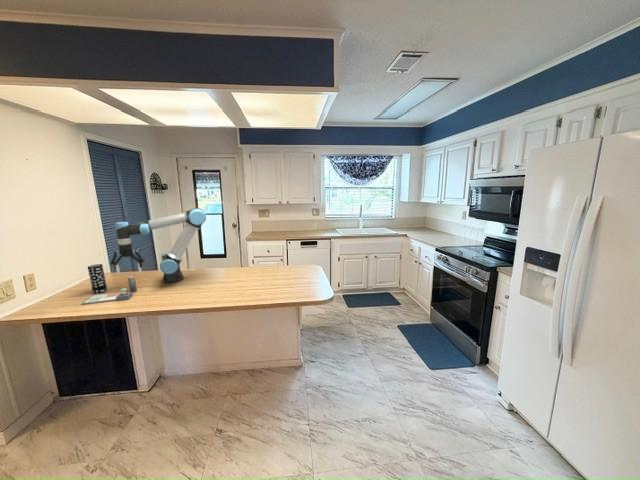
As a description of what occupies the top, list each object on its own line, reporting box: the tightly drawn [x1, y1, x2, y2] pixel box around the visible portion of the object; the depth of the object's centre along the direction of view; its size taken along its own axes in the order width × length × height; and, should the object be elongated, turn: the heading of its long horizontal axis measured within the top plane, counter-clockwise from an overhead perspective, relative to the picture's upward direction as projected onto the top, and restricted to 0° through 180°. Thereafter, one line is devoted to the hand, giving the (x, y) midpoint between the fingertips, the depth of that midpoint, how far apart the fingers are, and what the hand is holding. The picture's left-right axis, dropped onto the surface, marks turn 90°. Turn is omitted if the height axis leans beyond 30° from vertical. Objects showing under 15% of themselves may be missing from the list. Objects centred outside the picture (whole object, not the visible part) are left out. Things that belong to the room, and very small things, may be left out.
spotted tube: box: [87, 263, 108, 295], centre depth 195 cm, size 8×8×20 cm
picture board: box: [81, 291, 122, 306], centre depth 185 cm, size 20×15×1 cm
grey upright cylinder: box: [126, 274, 138, 293], centre depth 195 cm, size 4×4×12 cm
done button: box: [119, 287, 128, 295], centre depth 183 cm, size 4×4×4 cm
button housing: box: [116, 291, 134, 302], centre depth 184 cm, size 7×7×3 cm
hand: (129, 272), depth 193 cm, fingers open, 13 cm apart
